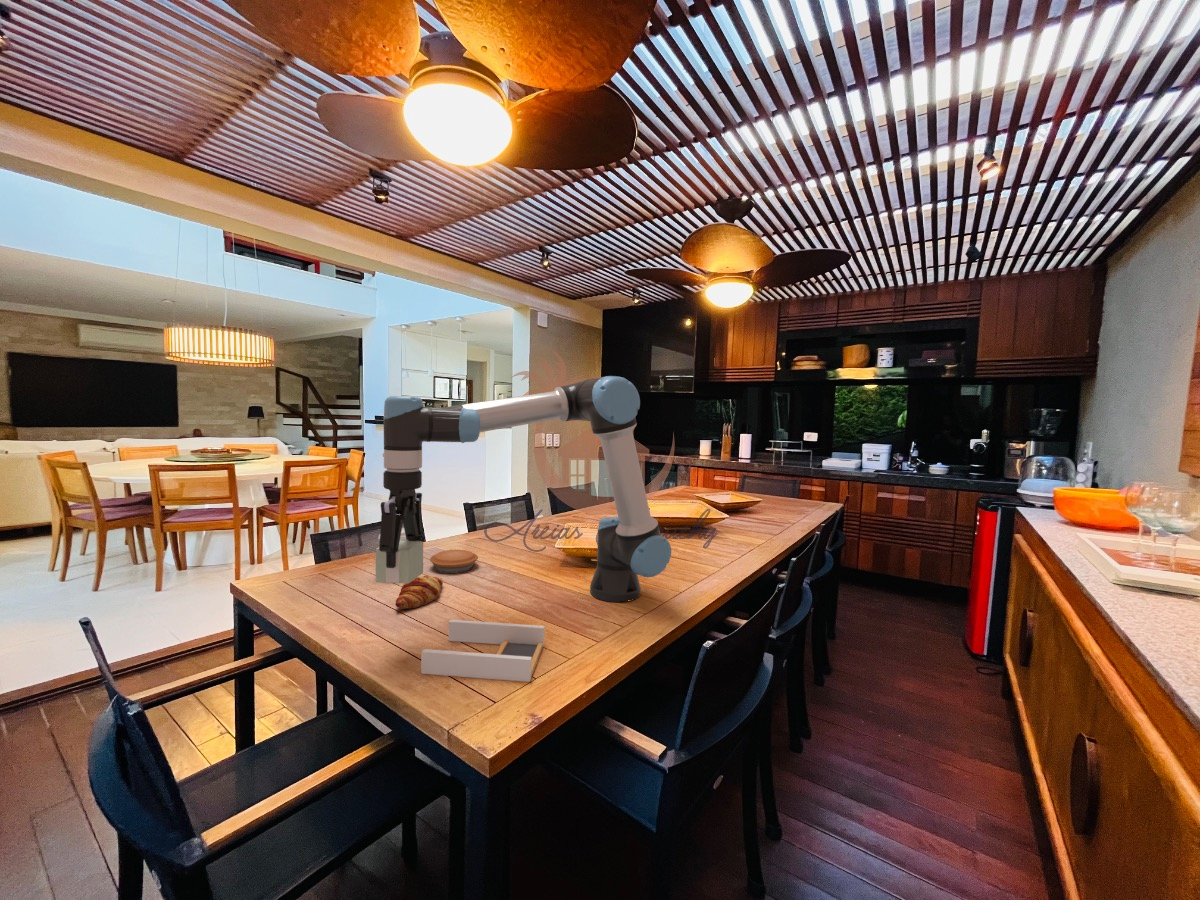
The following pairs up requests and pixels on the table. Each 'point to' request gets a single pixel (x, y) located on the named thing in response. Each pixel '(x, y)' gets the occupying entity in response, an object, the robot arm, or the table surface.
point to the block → (402, 562)
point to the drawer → (522, 651)
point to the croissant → (419, 592)
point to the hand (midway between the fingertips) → (402, 575)
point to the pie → (453, 560)
